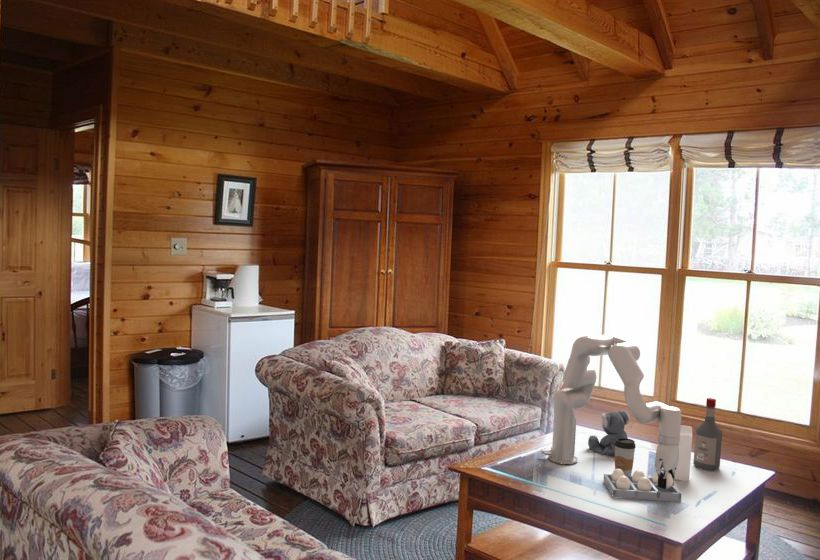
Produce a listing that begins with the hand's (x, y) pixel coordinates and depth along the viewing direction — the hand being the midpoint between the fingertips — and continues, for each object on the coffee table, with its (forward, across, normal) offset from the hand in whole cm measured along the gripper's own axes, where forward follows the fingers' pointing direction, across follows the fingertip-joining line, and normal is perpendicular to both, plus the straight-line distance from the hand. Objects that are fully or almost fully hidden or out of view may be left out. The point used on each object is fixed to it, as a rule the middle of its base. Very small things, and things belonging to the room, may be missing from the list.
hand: (665, 485), depth 264 cm
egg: (+1, 0, 0) cm, 1 cm away
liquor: (+4, -47, -6) cm, 48 cm away
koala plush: (+5, -30, -42) cm, 52 cm away
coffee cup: (+4, -6, -22) cm, 23 cm away
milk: (+4, -25, -6) cm, 26 cm away
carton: (+4, +3, -8) cm, 10 cm away
